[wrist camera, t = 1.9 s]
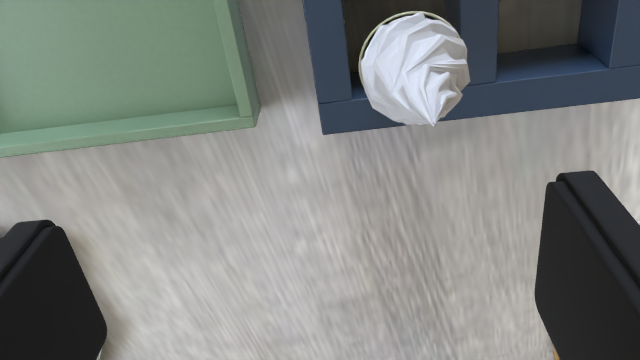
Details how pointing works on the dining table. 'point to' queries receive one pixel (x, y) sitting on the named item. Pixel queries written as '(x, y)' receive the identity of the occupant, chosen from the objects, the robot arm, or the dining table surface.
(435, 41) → the ice cream cone
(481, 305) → the dining table surface
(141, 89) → the shallow green box
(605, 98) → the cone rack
